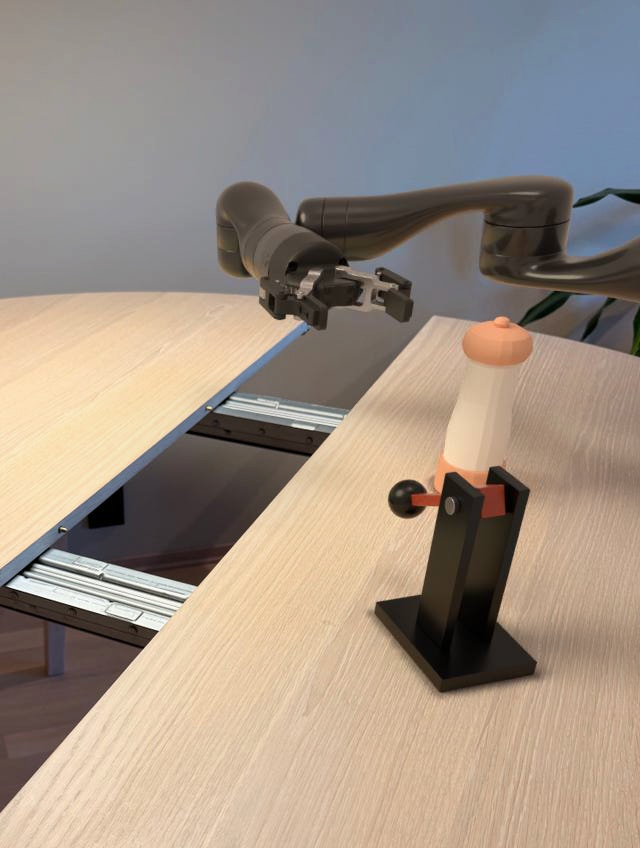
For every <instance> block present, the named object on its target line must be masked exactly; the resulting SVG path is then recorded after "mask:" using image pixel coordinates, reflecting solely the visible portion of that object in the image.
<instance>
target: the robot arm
mask: <svg viewBox="0 0 640 848" xmlns="http://www.w3.org/2000/svg"><path fill="white" fill-rule="evenodd" d="M574 199H575V189H574V186H573V185H572V183H570V182H569V181H568V180H566V179H564V178H563V177H559V176H553V175H546V174H521V175H510V176H509V175H508V176H502V177H493V178H487V179H480V180H473V181H466V182H465V181H464V182H458V183H451V184H444V185H438V186H432V187H431V186H430V187H425V188H420V189H414V190H409V191H408V190H407V191H400V192H394V193H386V194H374V195H373V194H372V195H350V196H348V195H346V196H314V197H313V196H312V197H307V198H304V199H303V200H302V201H301V202H300V203H299V204H298V207H297V210H296V213H295V219H294V222H293V221H292V220H291V218H290V215H289V213H288V212H287V209H286V208H285V206H284V205H283V203H282V201H281V199H280V198H279V197H278V195H277V194H276V193H275V192H274V191H273V190H272V189H271V188H269V187H267V185H264V184H263V183H259V182H255V181H249V180H244V181H243V180H242V181H238V182H233V183H232V184H229V186H227V187H225V188H224V190H222V192H221V193H220V194H219V195H218V198H217V200H216V204H215V223H216V225H215V226H216V227H215V228H216V248H217V249H216V250H217V262H218V266H219V268H220V270H221V271H222V272H223V273H224V274H226V275H227V276H230V277H231V278H233V279H239V280H248V279H252V278H254V279H256V280H257V281H258V282H259V290H258V291H259V294H258V304H259V305H260V306H261V307H262V308H263V309H264V310H265V311H266V312H267V313H268V314H269V315H270V317H272V318H273V319H274V320H277V321H283V320H286V319H287V316H292V319H293V320H295V321H298V322H301V321H303V322H304V323H305V324H307V326H311V327H312V328H314V329H315V330H316V331H317V332H318V331H325V330H326V329H327V328H328V327H327V326H328V318H329V311H330V310H331V309H333V310H339V311H342V310H345V309H347V310H350V311H355V312H360V313H366V314H367V313H369V312H370V311H373V310H375V311H380V312H384V313H385V314H387V315H388V316H390V317H391V318H393V319H394V320H396V321H397V322H398V323H400V324H403V323H404V324H405V323H409V322H410V319H411V318H413V317H412V316H413V311H414V303H415V301H414V299H412V298H411V294H412V286H413V281H411V280H409V279H407V278H405V277H404V276H401V275H400V274H397V273H396V272H394V271H392V270H390V269H388V268H387V267H384V266H379V267H376V268H375V270H374V274H373V273H368V272H363V271H357V270H354V268H353V267H351V266H350V264H349V263H350V262H364V261H370V260H373V259H376V258H380V257H382V256H384V255H386V254H388V253H390V252H392V251H394V250H396V249H397V248H399V247H401V246H402V245H404V244H406V243H407V242H409V241H410V240H411V239H412V240H413V238H415V237H417V236H418V235H420V234H422V233H423V232H424V231H426V230H429V229H430V228H432V227H434V226H436V225H438V224H439V223H441V222H443V221H446V220H449V219H452V218H454V217H457V216H462V215H467V214H473V213H482V214H483V216H482V225H481V226H482V227H481V237H480V243H479V252H478V253H479V254H478V268H479V272H480V274H481V275H482V276H483V277H484V278H486V279H487V280H489V281H492V282H495V283H497V284H501V285H507V286H512V287H519V288H527V289H537V290H547V291H555V292H556V291H558V292H567V293H575V294H583V295H592V296H599V297H606V298H610V299H611V298H613V299H617V300H623V301H628V302H632V303H636V304H640V234H638V235H637V236H635V237H634V238H632V239H629V240H627V241H625V242H622V243H621V244H619V245H617V246H614V247H611V248H609V249H606V250H604V251H601V252H598V253H595V254H592V255H584V256H579V255H578V256H577V255H571V254H568V252H567V246H568V240H569V232H570V227H571V219H572V212H573V206H574ZM363 292H364V296H363V302H361V301H359V299H360V298H361V296H362V295H363ZM377 298H379V299H382V300H383V301H378V300H377Z"/></svg>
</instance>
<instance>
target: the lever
mask: <svg viewBox="0 0 640 848" xmlns="http://www.w3.org/2000/svg"><path fill="white" fill-rule="evenodd" d="M474 487H475V488H476V489H477V490H478V491H480V492H481V493H482V494H483V495H484V496H485V499H484V504H483V508H482V512H481V517H480V518H488V517H495V516H502V515H505V494H504V485H478V486H474ZM440 498H441V494H440V493H439V492H438V493H435V492H434V493H431V492H429V493H428V490H427V488H426V487H425V486H424V485H423V483H421V482H419V481H418V480H416V479H410V478H409V479H407V478H406V479H402V480H400V481H398V482H396V483H394V484H393V486H392V487H391V489H390V490H389V492H388V496H387V504H388V508H389V509H390V511H391V513H392V514H394V515H395V516H396V517H398V518H400V519H403V520H413V519H414V518H417V517H420V515H422V514H423V513H424V512H425V510H426V509H427V507H436V508H439V503H440Z"/></svg>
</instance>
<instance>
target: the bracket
mask: <svg viewBox="0 0 640 848" xmlns="http://www.w3.org/2000/svg"><path fill="white" fill-rule="evenodd" d="M486 485H504V494H505V515H502V516H495V517H488V518H480V517H481V512H482V508H483V504H484V499H485V496H484V495H483V494H482V493H481V492H480V491H478V490H477V489H476V488H475V487H474V486H473V485H471V484H470V483H469V482H468V481H467V480H465V479H464V478H463V477H462V476H461V475H459V474H458V473H457V472H449V473H445V478H444V483H443V488H442V493H441V498H440V503H439V507H437V508H438V509H437V513H436V519H435V522H434V528H433V534H432V539H431V543H430V548H429V555H428V558H427V563H426V568H425V573H424V578H423V584H422V588H421V593H420V594H413V595H408V596H403V597H397V598H390V599H384V600H379V601H375V605H374V612H373V613H374V615H375V616H376V617H377V619H378V620H379V621H380V622H381V623H382V624H383V626H384V627H385V628H386V629H387V630H388V632H389V633H390V634H391V635H392V637H393V638H394V639H395V640H396V641H397V643H398V644H399V645H400V646H401V647H402V649H403V650H404V651H405V653H406V654H408V656H409V657H410V658H411V660H412V661H413V662H414V663H415V664H416V665H417V667H418V668H419V669H420V670H421V672H422V673H423V675H425V677H426V678H427V679H428V680H429V681H430V683H431V684H432V685H433V686H434V687H435V689H436V690H437V691H438V692H439V693H442V692H447V691H448V692H449V691H452V690H457V689H463V688H469V687H473V686H479V685H483V684H488V683H494V682H500V681H504V680H509V679H515V678H520V677H525V676H530V675H534V674H535V671H536V668H537V665H538V661H537V660H536V659H535V658H534V657H533V656H532V655H531V654H530V653H529V652H528V651H527V650H526V649H525V648H524V647H523V646H522V645H521V644H520V643H519V642H518V641H517V640H516V639H515V638H514V637H513V636H512V635H511V634H510V633H509V632H508V631H507V630H506V628H504V627H503V626H502V625H501V624H500V622H498V617H499V614H500V609H501V607H502V602H503V598H504V594H505V590H506V586H507V582H508V579H509V576H510V572H511V571H510V570H511V568H512V563H513V560H514V556H515V552H516V548H517V545H518V540H519V536H520V533H521V529H522V525H523V521H524V517H525V513H526V511H527V510H526V509H527V505H528V502H529V498H530V494H531V489H530V488H529V487H528V486H526V485H525V484H524V483H523V482H521V481H520V480H519V479H518V478H516V476H514V475H513V474H511V473H510V472H509V471H507V469H503V468H502V467H501V466H493V467H489V471H488V476H487V480H486Z"/></svg>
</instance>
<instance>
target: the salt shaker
mask: <svg viewBox="0 0 640 848" xmlns="http://www.w3.org/2000/svg"><path fill="white" fill-rule="evenodd" d="M461 347H462V351H463V353H464V355H465V356H466V362H465V366H464V371H463V372H464V373H463V374H462V375H463V376H462V381H461V386H460V390H459V394H458V397H457V400H456V402H455V404H454V405H455V406H454V408H453V410H452V413H451V416H450V419H449V422H448V424H447V427H446V434H445V441H444V446H443V447H444V448H443V450H442V451H441V452H440V453H439V456H438V460H437V465H436V469H435V474H434V479H433V487H434V489H435V490H436V491H437V492H438V494H441V493H442V488H443V483H444V478H445V473H449V472H457V473H458V474H459V475H461V476H462V477H463V478H464V479H465V480H467V481H468V482H469V483H470V484H471V485H473V486H478V485H486V480H487V476H488V471H489V467H493V466H501V467H502V468H503V469H505V470H507V469H506V468H507V462H506V460H505V457H506V453H507V449H508V446H509V442H510V438H511V434H512V420H513V419H512V418H513V405H514V404H513V403H514V396H515V392H516V387H517V383H518V382H517V381H518V378H519V374H520V370H521V365H522V364H523V363H524V362H526V361H527V360H528V359H529V358H530V356H531V354H532V353H533V349H534V340H533V338H532V336H531V333H530V332H529V331H528V330H527V329H525V328H523V327H522V326H520V325H518V324H517V323H513V322H511V320H510V318H508V317H506V316H498V317H496V318H494V319H493V320H487V321H483V322H479V323H475V324H474V325H472V326H471V327H470V328H468V330H467V331H465V334H464V336H463V338H462V340H461Z"/></svg>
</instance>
